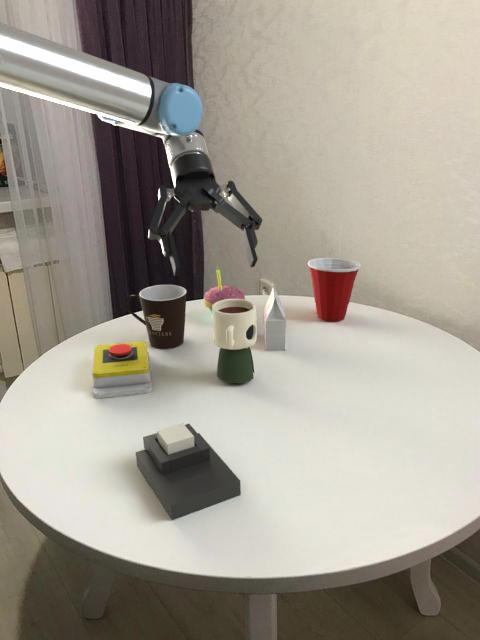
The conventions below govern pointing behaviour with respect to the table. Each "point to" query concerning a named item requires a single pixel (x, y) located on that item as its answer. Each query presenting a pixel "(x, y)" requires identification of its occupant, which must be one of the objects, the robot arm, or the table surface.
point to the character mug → (234, 338)
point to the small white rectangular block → (175, 438)
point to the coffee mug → (162, 314)
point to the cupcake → (221, 293)
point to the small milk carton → (274, 323)
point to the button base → (186, 476)
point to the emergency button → (121, 370)
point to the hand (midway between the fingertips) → (216, 267)
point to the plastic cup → (332, 286)
